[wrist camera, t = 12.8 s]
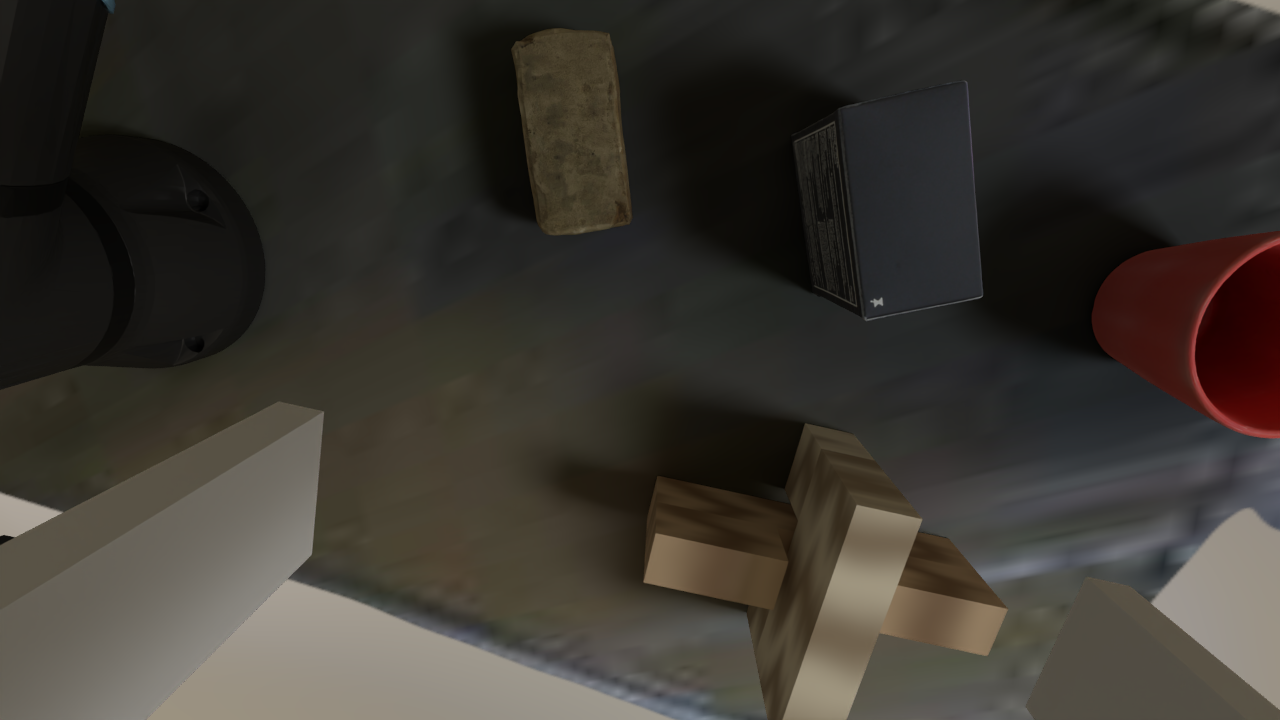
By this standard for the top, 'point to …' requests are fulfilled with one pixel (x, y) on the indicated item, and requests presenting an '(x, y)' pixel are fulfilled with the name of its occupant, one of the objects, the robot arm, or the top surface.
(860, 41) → the top surface
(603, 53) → the stone block
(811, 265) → the small box
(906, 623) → the oak board
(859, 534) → the beige wooden slab
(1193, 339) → the flower pot
